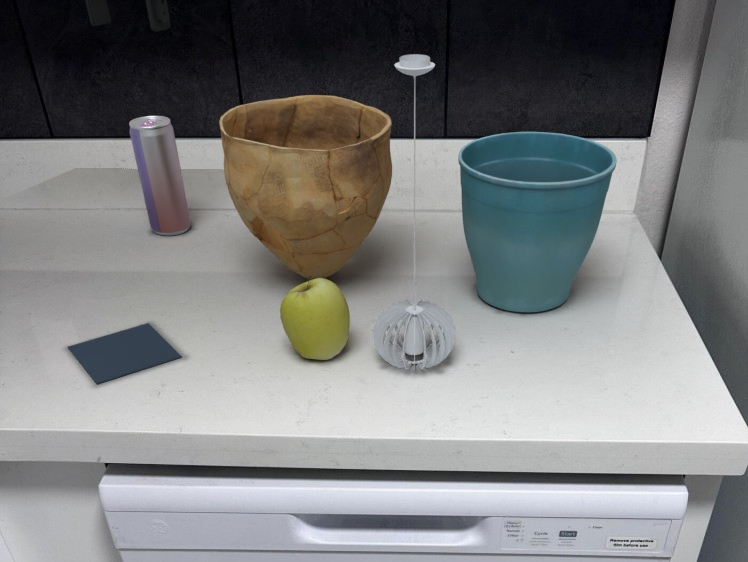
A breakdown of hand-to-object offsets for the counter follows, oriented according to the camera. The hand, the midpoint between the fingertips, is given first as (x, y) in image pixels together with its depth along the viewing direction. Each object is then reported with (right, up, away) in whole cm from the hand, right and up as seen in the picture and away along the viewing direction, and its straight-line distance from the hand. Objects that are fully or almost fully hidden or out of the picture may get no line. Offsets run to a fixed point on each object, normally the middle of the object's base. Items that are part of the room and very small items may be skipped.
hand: (130, 26), depth 102 cm
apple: (+25, -44, -10) cm, 52 cm away
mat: (+3, -45, -10) cm, 46 cm away
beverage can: (0, -20, +18) cm, 26 cm away
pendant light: (+36, -46, -12) cm, 60 cm away
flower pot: (+51, -35, 0) cm, 62 cm away
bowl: (+24, -31, +4) cm, 40 cm away
